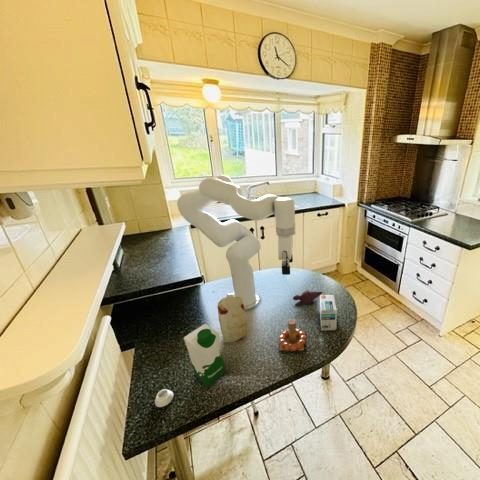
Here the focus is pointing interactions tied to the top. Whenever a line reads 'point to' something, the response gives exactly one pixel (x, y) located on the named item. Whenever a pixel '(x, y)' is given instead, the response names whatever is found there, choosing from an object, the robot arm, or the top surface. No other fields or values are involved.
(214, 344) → the milk carton
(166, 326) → the top surface
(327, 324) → the light bulb box
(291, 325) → the stand
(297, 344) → the ring
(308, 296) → the dinosaur toy
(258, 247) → the robot arm
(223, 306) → the food model
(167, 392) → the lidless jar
